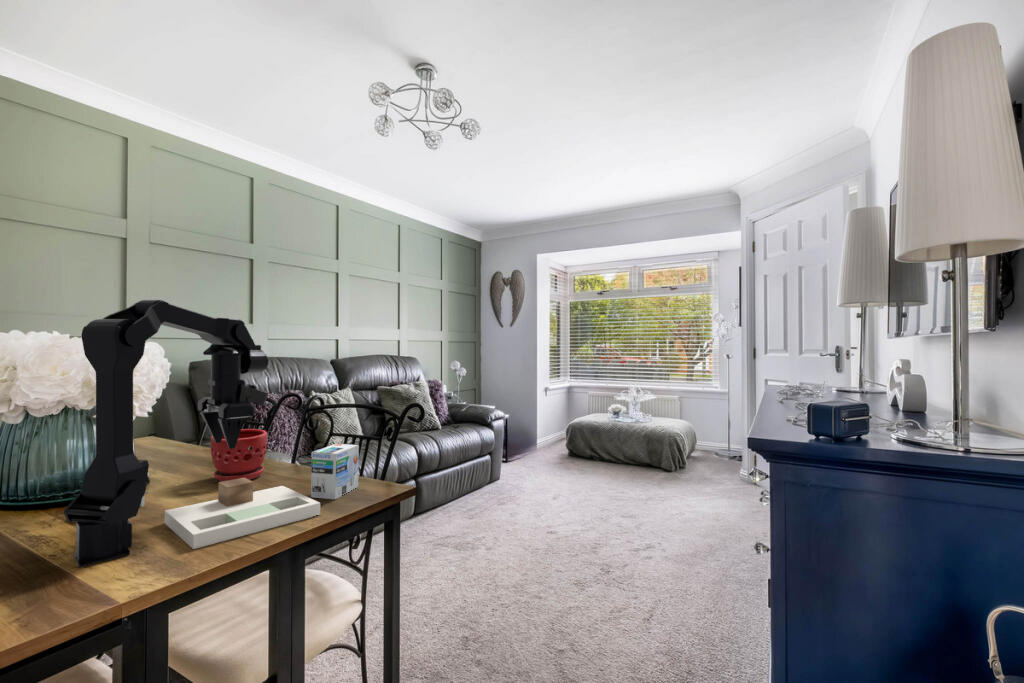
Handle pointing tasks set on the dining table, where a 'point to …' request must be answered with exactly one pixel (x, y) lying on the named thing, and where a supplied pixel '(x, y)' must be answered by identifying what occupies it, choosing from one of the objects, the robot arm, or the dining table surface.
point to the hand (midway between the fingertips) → (225, 445)
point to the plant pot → (240, 456)
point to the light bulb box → (334, 471)
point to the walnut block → (235, 491)
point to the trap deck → (239, 516)
